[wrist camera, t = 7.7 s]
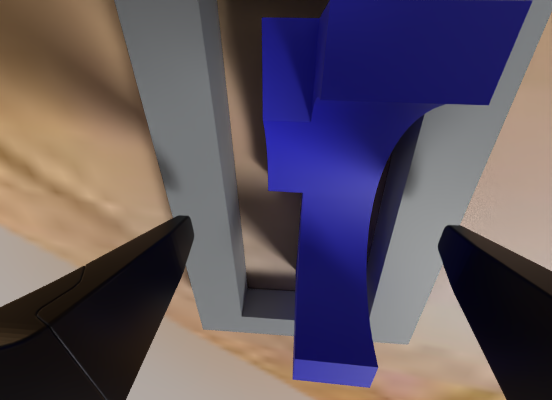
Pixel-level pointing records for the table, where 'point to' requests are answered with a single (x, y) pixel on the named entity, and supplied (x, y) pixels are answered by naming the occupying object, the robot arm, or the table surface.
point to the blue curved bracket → (361, 140)
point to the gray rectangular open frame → (223, 187)
